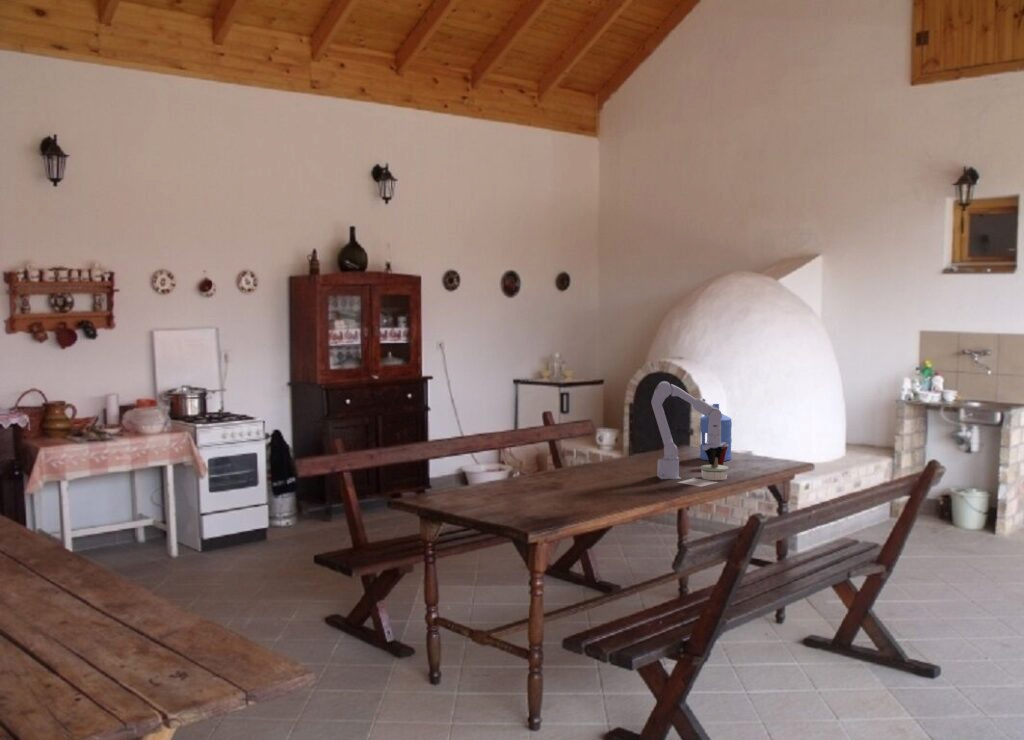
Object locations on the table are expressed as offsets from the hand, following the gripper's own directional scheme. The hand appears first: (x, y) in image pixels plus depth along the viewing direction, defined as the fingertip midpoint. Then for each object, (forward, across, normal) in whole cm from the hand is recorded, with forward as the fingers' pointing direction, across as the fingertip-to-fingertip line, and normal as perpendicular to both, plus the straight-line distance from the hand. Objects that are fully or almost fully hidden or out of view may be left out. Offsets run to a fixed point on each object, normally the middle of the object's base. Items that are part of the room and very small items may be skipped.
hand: (714, 464), depth 419 cm
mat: (+7, -13, -2) cm, 15 cm away
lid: (+3, 0, 0) cm, 3 cm away
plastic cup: (+7, +22, +16) cm, 28 cm away
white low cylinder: (+7, 0, 0) cm, 7 cm away
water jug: (+7, +40, +32) cm, 52 cm away
